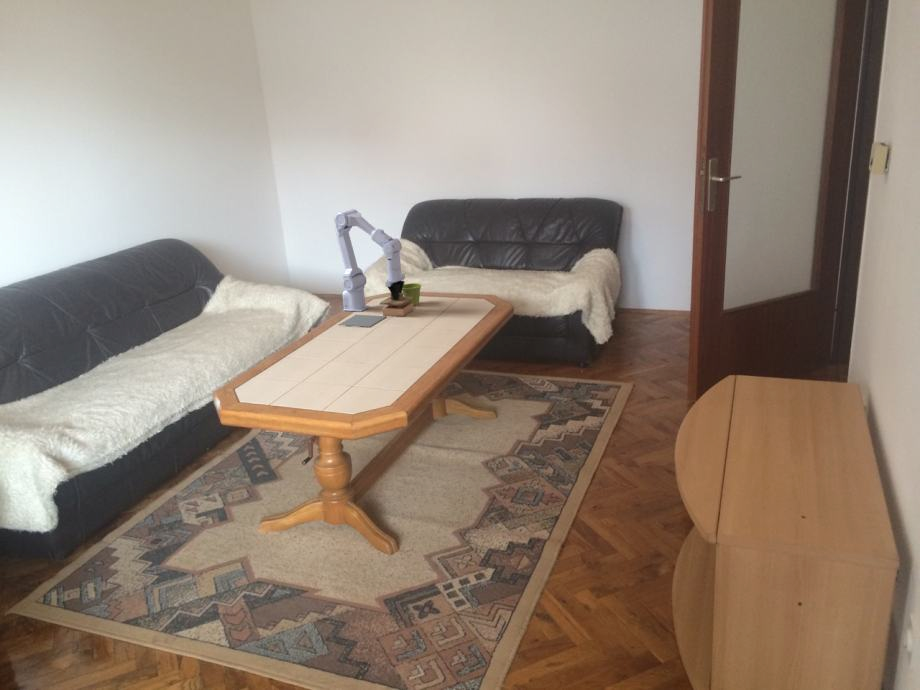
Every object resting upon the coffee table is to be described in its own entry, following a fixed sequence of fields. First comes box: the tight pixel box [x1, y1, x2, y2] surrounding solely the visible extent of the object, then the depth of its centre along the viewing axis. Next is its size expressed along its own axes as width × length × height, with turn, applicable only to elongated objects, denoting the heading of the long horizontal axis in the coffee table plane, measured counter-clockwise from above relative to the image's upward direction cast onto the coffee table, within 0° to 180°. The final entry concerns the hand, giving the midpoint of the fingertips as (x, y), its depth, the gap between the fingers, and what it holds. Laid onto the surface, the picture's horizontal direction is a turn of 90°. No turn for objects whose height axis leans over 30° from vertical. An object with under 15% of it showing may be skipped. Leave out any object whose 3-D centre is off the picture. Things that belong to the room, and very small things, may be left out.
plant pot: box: [402, 282, 422, 306], centre depth 337 cm, size 9×9×9 cm
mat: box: [338, 314, 388, 328], centre depth 318 cm, size 15×15×1 cm
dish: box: [382, 303, 415, 318], centre depth 326 cm, size 10×10×4 cm
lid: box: [379, 292, 414, 306], centre depth 324 cm, size 11×11×4 cm
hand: (397, 298), depth 325 cm, fingers closed on lid, 2 cm apart
